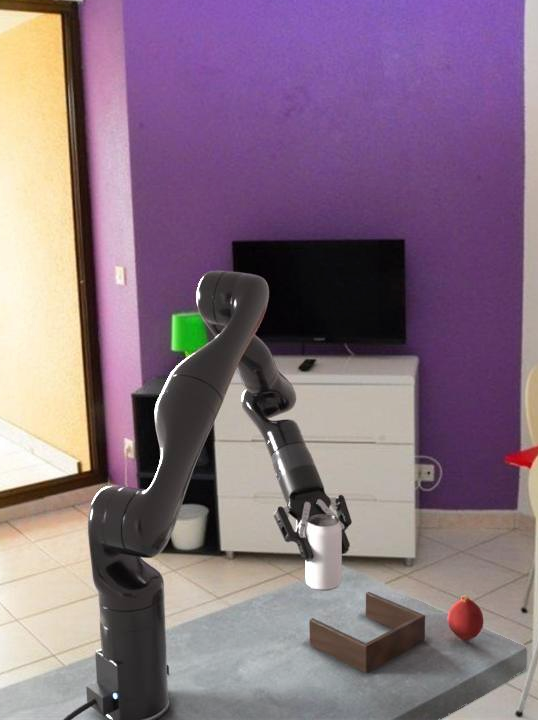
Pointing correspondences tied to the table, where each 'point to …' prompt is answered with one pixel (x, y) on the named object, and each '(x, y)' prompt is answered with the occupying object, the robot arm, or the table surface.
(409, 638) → the frame
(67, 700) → the table surface
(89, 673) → the table surface
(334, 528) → the can
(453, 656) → the table surface
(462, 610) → the onion
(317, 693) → the table surface
